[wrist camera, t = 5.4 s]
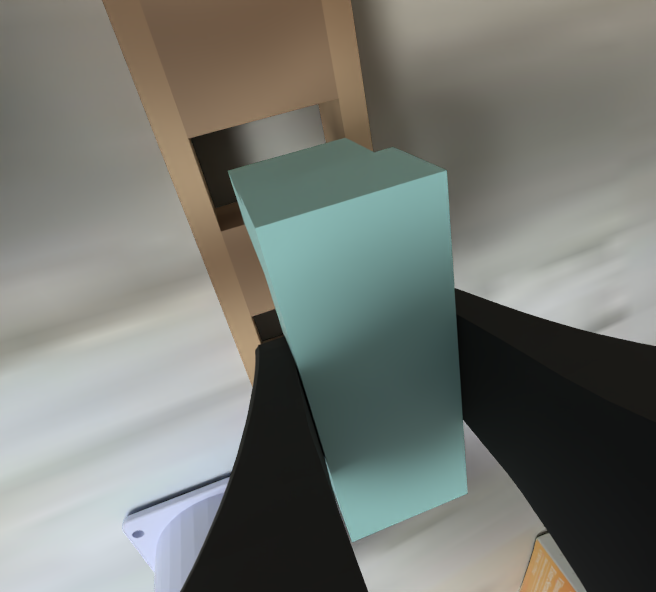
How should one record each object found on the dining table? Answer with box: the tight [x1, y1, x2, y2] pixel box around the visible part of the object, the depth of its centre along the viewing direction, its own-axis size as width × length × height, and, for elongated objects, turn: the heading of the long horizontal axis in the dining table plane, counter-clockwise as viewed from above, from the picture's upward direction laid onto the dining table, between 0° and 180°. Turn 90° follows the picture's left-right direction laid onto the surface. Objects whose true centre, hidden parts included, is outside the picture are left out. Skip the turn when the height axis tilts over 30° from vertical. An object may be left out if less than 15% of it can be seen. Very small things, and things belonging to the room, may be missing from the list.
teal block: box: [228, 138, 468, 542], centre depth 11 cm, size 8×3×5 cm, turn 12°
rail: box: [102, 0, 373, 387], centre depth 16 cm, size 16×6×2 cm, turn 12°
